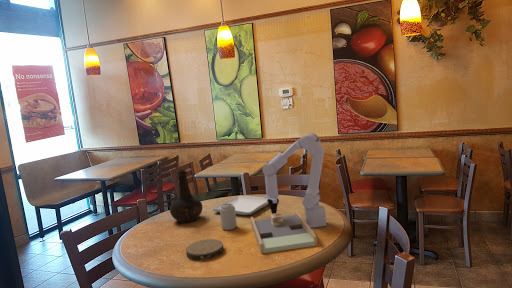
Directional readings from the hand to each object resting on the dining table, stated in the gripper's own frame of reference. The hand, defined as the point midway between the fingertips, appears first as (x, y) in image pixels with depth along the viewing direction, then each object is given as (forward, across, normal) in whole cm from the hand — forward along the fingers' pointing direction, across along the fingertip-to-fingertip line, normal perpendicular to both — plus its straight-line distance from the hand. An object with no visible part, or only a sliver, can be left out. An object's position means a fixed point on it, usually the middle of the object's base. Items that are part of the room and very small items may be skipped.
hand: (274, 213), depth 193 cm
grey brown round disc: (+6, +25, -35) cm, 43 cm away
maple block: (+3, +8, 0) cm, 8 cm away
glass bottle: (+5, -24, -45) cm, 51 cm away
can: (+5, -1, -23) cm, 24 cm away
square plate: (+6, -31, -13) cm, 34 cm away
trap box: (+5, +17, 0) cm, 17 cm away
